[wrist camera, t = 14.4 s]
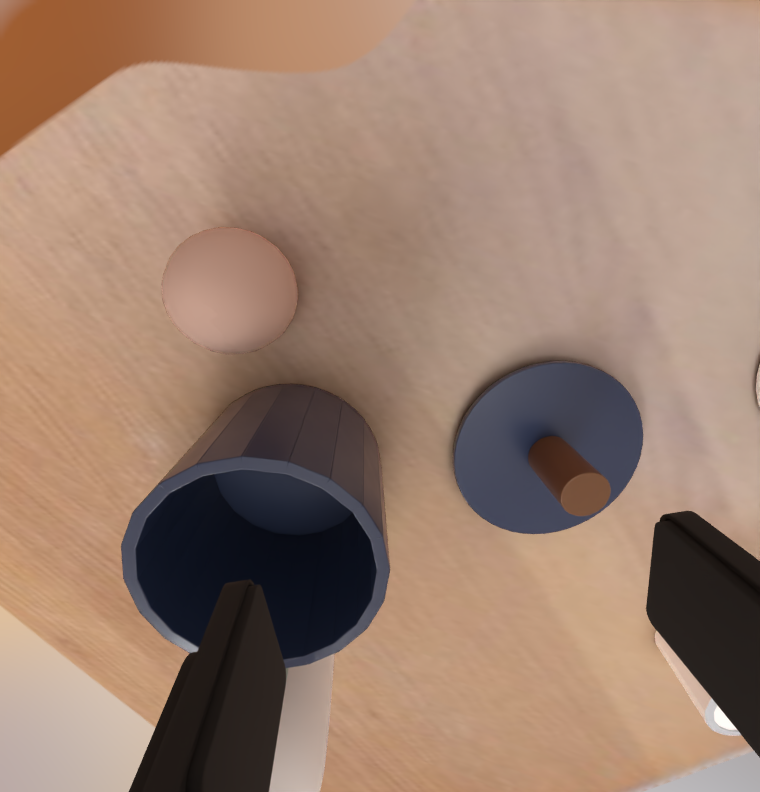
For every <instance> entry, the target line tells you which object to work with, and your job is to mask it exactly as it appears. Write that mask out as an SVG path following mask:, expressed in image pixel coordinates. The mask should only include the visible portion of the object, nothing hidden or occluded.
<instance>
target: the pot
mask: <svg viewBox="0 0 760 792" xmlns="http://www.w3.org/2000/svg"><path fill="white" fill-rule="evenodd" d="M121 545H122V546H121V551H122V565H123V579H124V581H125V583H126V586H127V588H128V590H129V592H130V594H131V596H132V598H133V600H134V602H135V604H136V606H137V609H138V610H139V612H140V613H141V614H142V615H143V616H144V618H145V619H146V620H147V621H148V622H149V623H150V624H151V625H152V626H153V627H154V628H155V629H156V630H157V631H158V632H159V633H160V634H161V635H162V636H163V637H165V639H167V640H168V641H170V642H172V643H173V644H175V645H177V646H179V647H180V648H182V649H184V650H185V651H187V652H189V653H193V652H197V651H198V649H199V646H200V644H201V641H202V638H203V636H204V633H205V631H206V628H207V626H208V623H209V621H210V618H211V616H212V613H213V611H214V608H215V606H216V603H217V600H218V598H219V595H220V593H221V590H222V588H223V586H224V585H225V584H226V583H230V582H236V581H242V580H249V579H250V580H252V581H253V583H254V585H261V587H262V590H263V593H264V596H265V600H266V603H267V606H268V610H269V613H270V617H271V620H272V623H273V627H274V630H275V633H276V637H277V640H278V643H279V647H280V650H281V654H282V657H283V660H284V664H285V668H291V667H297V666H303V665H307V664H308V665H309V664H311V663H314V662H316V661H318V660H321V659H323V658H325V657H328V656H330V655H332V654H335V653H337V652H339V651H340V650H342V649H343V648H344V647H346V646H347V645H348V644H349V643H350V642H352V641H353V640H354V639H355V638H357V637H358V636H359V635H360V634H361V633H363V632H364V631H365V630H366V629H367V628H368V626H369V625H370V623H371V622H372V620H373V618H374V617H375V615H376V614H377V612H378V610H379V609H380V607H381V605H382V604H383V602H384V599H385V594H386V589H387V583H388V578H389V573H390V563H389V551H388V539H387V526H386V514H385V502H384V490H383V478H382V466H381V461H380V455H379V449H378V445H377V442H376V439H375V437H374V435H373V433H372V431H371V429H370V427H369V426H368V424H367V423H366V421H365V420H364V419H363V417H362V416H361V415H360V414H359V413H358V412H357V411H356V410H355V409H354V408H353V407H351V406H350V405H349V404H348V403H347V402H345V401H343V400H342V399H340V398H339V397H337V396H335V395H333V394H331V393H329V392H327V391H324V390H321V389H318V388H315V387H311V386H306V385H298V384H279V385H273V386H267V387H264V388H260V389H257V390H254V391H252V392H250V393H248V394H246V395H244V396H242V397H241V398H239V399H238V400H236V401H235V402H233V403H232V404H230V405H229V406H228V407H227V408H226V410H225V411H224V412H223V413H222V414H221V415H220V416H219V417H218V418H217V419H216V421H215V422H214V423H213V424H212V425H211V426H210V427H209V428H208V429H207V430H206V432H205V433H204V434H203V435H202V436H201V437H200V438H199V439H198V440H197V442H196V443H195V444H194V445H193V446H192V447H191V448H190V449H189V450H188V451H187V453H186V454H185V455H184V456H183V457H182V458H181V459H180V460H179V461H178V462H177V464H176V465H175V466H174V467H173V468H172V469H171V470H170V471H169V472H168V474H167V475H166V476H165V477H164V478H163V479H162V480H161V481H160V482H159V483H158V485H157V486H156V487H155V488H154V489H153V490H152V491H151V492H150V493H149V494H148V496H147V497H146V498H145V499H144V500H143V501H142V502H141V503H140V504H139V506H138V507H137V508H136V509H135V510H134V512H133V513H132V516H131V519H130V522H129V524H128V527H127V530H126V533H125V536H124V538H123V541H122V544H121Z"/></svg>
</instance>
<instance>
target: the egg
mask: <svg viewBox="0 0 760 792" xmlns="http://www.w3.org/2000/svg"><path fill="white" fill-rule="evenodd" d="M162 297H163V302H164V305H165V308H166V311H167V314H168V315H169V317H170V319H171V320H172V322H173V324H174V325H175V326H176V327H177V328H178V330H179V331H180V332H181V333H182V334H184V335H185V336H186V337H188V338H189V339H190V340H192V341H193V342H194V343H195V344H198V345H200V346H202V347H204V348H206V349H208V350H211V351H214V352H219V353H223V354H242V353H248V352H253V351H257V350H259V349H261V348H263V347H265V346H267V345H268V344H270V343H271V342H273V341H274V340H276V339H277V338H278V337H279V336H280V335H281V334H283V333H284V331H285V330H286V328H287V327H288V325H289V324H290V322H291V321H292V318H293V316H294V314H295V311H296V306H297V301H298V288H297V283H296V279H295V274H294V272H293V270H292V268H291V266H290V264H289V262H288V260H287V258H286V257H285V256H284V255H283V254H282V253H281V251H280V250H279V249H278V248H277V247H276V246H275V245H273V244H272V243H271V242H269V241H268V240H266V239H265V238H264V237H262V236H260V235H258V234H256V233H254V232H252V231H247V230H243V229H239V228H231V227H218V228H214V229H209V230H204V231H202V232H199V233H197V234H195V235H192V236H191V237H189V238H188V239H187V240H185V241H184V242H182V243H181V244H180V245H179V246H178V247H177V248H176V250H175V251H174V252H173V254H172V255H171V257H170V258H169V261H168V263H167V266H166V269H165V271H164V274H163V280H162Z"/></svg>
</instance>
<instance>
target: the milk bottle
mask: <svg viewBox="0 0 760 792" xmlns="http://www.w3.org/2000/svg"><path fill="white" fill-rule="evenodd" d="M334 657H335V654H332V655H330V656H328V657H325V658H323V659H321V660H318V661H316V662H314V663H311V664H309V665H308V664H307V665H303V666H297V667H291V668H286V687H285V693H284V699H283V706H282V712H281V718H280V725H279V731H278V737H277V744H276V750H275V757H274V763H273V769H272V776H271V782H270V788H269V792H320V789H321V785H322V779H323V774H324V768H325V760H326V751H327V742H328V731H329V719H330V707H331V696H332V683H333V670H334Z"/></svg>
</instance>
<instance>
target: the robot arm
mask: <svg viewBox="0 0 760 792" xmlns="http://www.w3.org/2000/svg"><path fill="white" fill-rule="evenodd" d="M756 393H757V399H758V404H759V407H760V365H759V369H758V372H757V381H756ZM646 611H647V615H648V618H649V620H650V622H651V624H652V625H653V626H654V628H655V629H656V630H657V631H658V633H659V634H660V635H661V636H662V638H663V639H664V640H665V641H666V643H667V644H668V645H669V646H670V648H671V649H672V650H673V651H674V652H675V654H676V655H677V656H678V657H679V659H680V660H681V661H682V662H683V664H684V665H685V666H686V667H687V668H688V670H689V671H690V672H691V673H692V675H693V676H694V677H695V678H696V680H697V681H698V682H699V683H700V684H701V686H702V687H703V688H704V689H705V691H706V692H707V693H708V694H709V696H710V697H711V698H712V699H713V701H714V702H715V703H716V704H717V705H718V707H719V708H720V709H721V710H722V712H723V713H724V714H725V715H726V717H727V718H728V719H729V720H730V721H731V723H732V724H733V725H734V726H735V728H736V729H737V730H738V731H739V733H740V734H741V735H742V736H743V737H744V739H745V740H746V741H747V742H748V744H749V745H750V746H751V747H752V749H753V750H754V751H755V752H756V753H757V755H758V756H759V757H760V561H759V560H757V559H756V558H755V557H753V556H752V555H751V554H749V553H748V552H747V551H745V550H744V549H743V548H741V547H740V546H739V545H737V544H736V543H735V542H733V541H732V540H731V539H729V538H728V537H727V536H725V535H724V534H723V533H721V532H720V531H719V530H717V529H716V528H715V527H713V526H712V525H711V524H709V523H708V522H707V521H705V520H704V519H703V518H701V517H700V516H699V515H697V514H696V513H694V512H692V511H683V512H677V513H671V514H665V515H663V516H662V517H661V518H660V522H657V523H656V524H655V528H654V538H653V548H652V557H651V567H650V577H649V587H648V596H647V606H646ZM285 687H286V668H285V664H284V660H283V657H282V654H281V650H280V647H279V643H278V640H277V637H276V633H275V630H274V627H273V623H272V620H271V617H270V613H269V610H268V606H267V603H266V600H265V596H264V593H263V590H262V587H261V585H254V583H253V581H252V580H250V579H249V580H242V581H236V582H230V583H226V584H225V585H224V586H223V588H222V590H221V593H220V595H219V598H218V600H217V603H216V606H215V608H214V611H213V613H212V616H211V618H210V621H209V623H208V626H207V628H206V631H205V633H204V636H203V638H202V641H201V644H200V646H199V649H198V651H197V652H193V653H190V654H189V655H188V656H187V657H186V659H185V660H184V662H183V664H182V666H181V669H180V671H179V673H178V676H177V678H176V680H175V683H174V685H173V688H172V690H171V692H170V695H169V697H168V700H167V702H166V704H165V707H164V709H163V712H162V714H161V716H160V719H159V721H158V723H157V726H156V728H155V731H154V733H153V735H152V738H151V740H150V743H149V745H148V747H147V750H146V752H145V754H144V757H143V759H142V762H141V764H140V767H139V769H138V771H137V774H136V776H135V778H134V781H133V783H132V786H131V788H130V790H129V792H269V788H270V782H271V776H272V769H273V763H274V757H275V750H276V744H277V737H278V731H279V725H280V718H281V712H282V706H283V699H284V693H285Z"/></svg>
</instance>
